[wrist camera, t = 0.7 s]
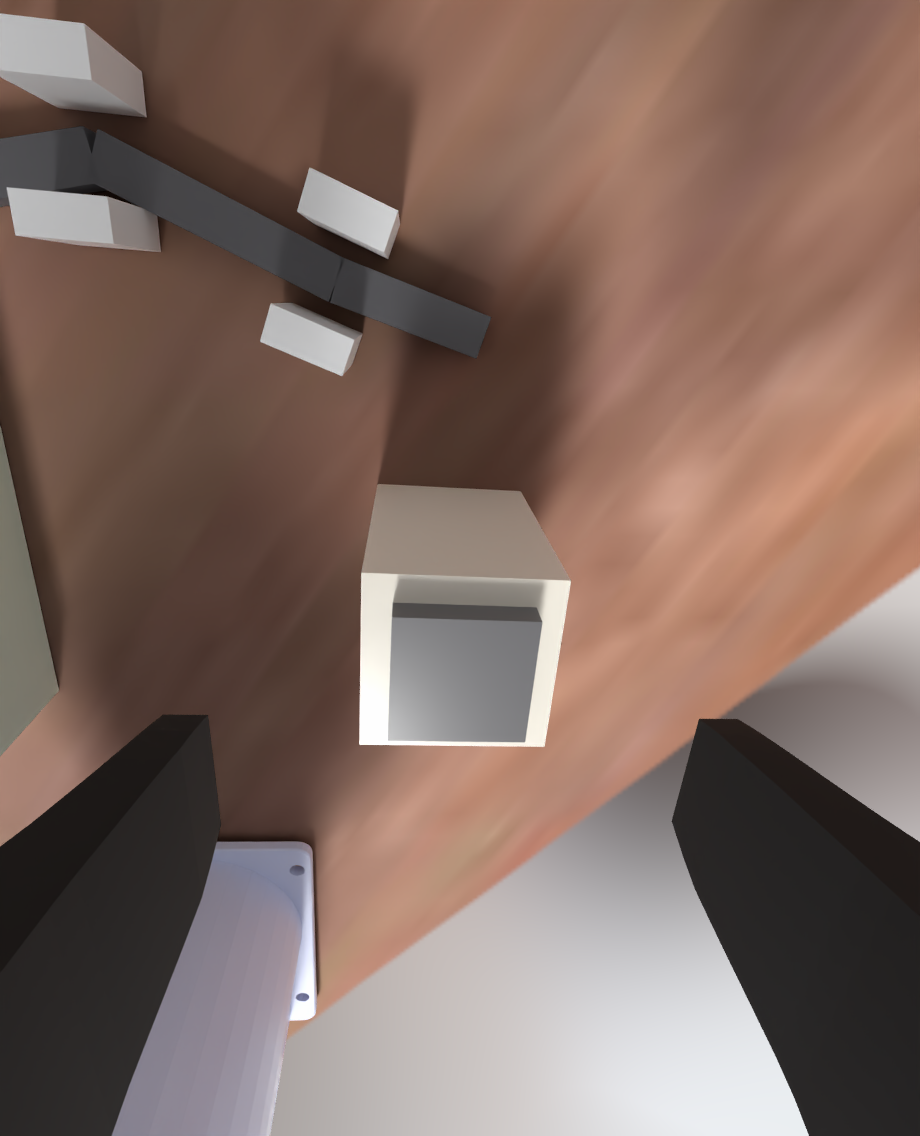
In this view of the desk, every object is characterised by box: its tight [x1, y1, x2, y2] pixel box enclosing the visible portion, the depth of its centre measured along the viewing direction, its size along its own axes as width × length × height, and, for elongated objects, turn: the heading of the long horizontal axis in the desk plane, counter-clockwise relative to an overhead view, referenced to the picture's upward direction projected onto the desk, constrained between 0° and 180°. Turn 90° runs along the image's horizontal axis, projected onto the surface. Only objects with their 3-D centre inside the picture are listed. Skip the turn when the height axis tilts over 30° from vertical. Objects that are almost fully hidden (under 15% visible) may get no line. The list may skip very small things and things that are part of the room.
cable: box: [0, 126, 491, 358], centre depth 14 cm, size 4×17×1 cm, turn 86°
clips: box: [0, 14, 400, 376], centre depth 13 cm, size 6×12×2 cm, turn 86°
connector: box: [359, 484, 571, 747], centre depth 15 cm, size 4×4×7 cm
